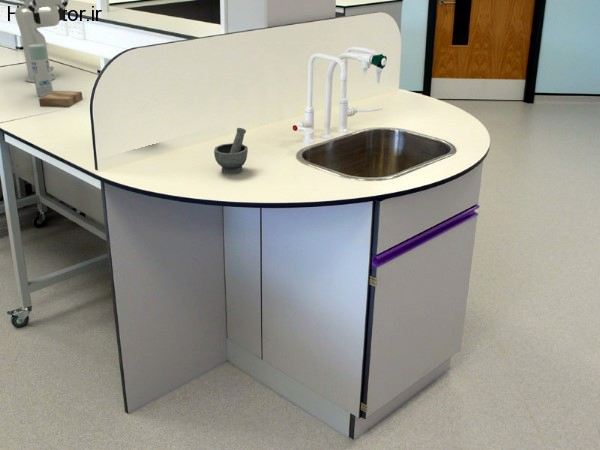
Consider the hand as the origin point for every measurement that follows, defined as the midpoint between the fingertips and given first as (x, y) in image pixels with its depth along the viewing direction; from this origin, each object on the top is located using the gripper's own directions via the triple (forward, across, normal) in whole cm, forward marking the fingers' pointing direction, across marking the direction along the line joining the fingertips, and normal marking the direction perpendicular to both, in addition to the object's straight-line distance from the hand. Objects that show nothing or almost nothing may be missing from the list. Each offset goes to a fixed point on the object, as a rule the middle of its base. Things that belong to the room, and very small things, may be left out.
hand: (50, 21), depth 268 cm
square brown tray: (+31, +2, +2) cm, 31 cm away
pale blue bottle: (+31, +1, -13) cm, 34 cm away
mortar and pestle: (+29, 0, +109) cm, 113 cm away
